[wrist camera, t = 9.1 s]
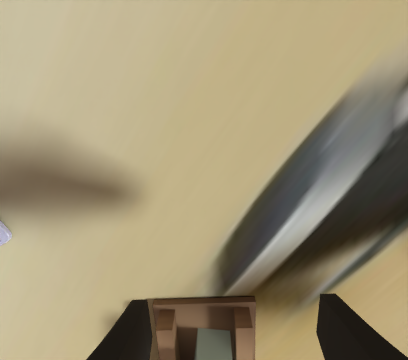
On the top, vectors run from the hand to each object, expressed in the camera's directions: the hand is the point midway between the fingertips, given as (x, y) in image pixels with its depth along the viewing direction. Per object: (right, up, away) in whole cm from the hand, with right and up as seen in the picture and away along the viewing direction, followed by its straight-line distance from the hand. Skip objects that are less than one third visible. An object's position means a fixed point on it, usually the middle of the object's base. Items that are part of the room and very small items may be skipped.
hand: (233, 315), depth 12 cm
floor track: (-1, -10, +14) cm, 17 cm away
